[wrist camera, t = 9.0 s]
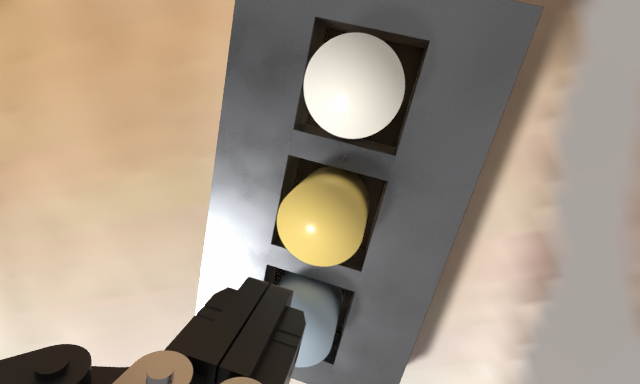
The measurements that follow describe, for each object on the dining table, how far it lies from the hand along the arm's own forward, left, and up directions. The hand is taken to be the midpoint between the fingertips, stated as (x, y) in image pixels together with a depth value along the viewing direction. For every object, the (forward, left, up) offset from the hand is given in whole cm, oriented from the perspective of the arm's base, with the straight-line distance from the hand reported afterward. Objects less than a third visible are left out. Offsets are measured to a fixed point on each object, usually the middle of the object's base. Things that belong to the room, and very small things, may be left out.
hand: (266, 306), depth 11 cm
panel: (0, 0, -12) cm, 12 cm away
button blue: (0, -7, -11) cm, 13 cm away
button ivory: (0, +7, -11) cm, 13 cm away
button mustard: (0, 0, -11) cm, 11 cm away
